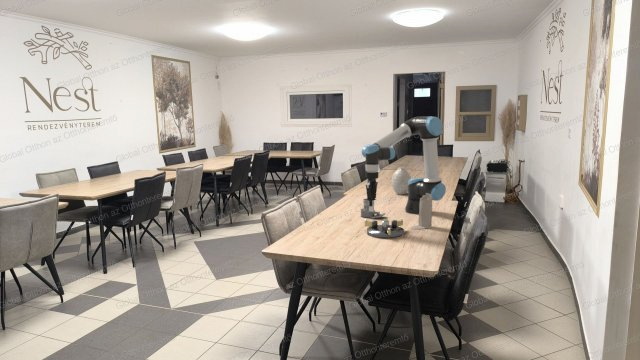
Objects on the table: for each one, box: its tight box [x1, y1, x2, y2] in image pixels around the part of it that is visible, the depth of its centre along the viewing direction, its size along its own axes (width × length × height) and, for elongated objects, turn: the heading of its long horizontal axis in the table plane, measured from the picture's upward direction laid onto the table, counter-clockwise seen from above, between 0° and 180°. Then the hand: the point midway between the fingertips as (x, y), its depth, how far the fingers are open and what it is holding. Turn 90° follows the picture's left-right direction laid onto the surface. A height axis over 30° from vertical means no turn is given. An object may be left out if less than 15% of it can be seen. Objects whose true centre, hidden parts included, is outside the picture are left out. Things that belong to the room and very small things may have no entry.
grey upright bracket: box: [409, 193, 433, 230], centre depth 247 cm, size 7×14×20 cm, turn 112°
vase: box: [391, 166, 412, 196], centre depth 345 cm, size 16×16×22 cm
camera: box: [360, 198, 386, 219], centre depth 273 cm, size 9×12×15 cm
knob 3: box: [391, 218, 404, 228], centre depth 242 cm, size 8×3×4 cm, turn 121°
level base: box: [366, 218, 405, 240], centre depth 238 cm, size 21×21×8 cm
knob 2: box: [385, 224, 391, 235], centre depth 229 cm, size 8×3×4 cm, turn 1°
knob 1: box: [364, 219, 379, 229], centre depth 242 cm, size 8×3×4 cm, turn 61°
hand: (371, 211), depth 246 cm, fingers closed
